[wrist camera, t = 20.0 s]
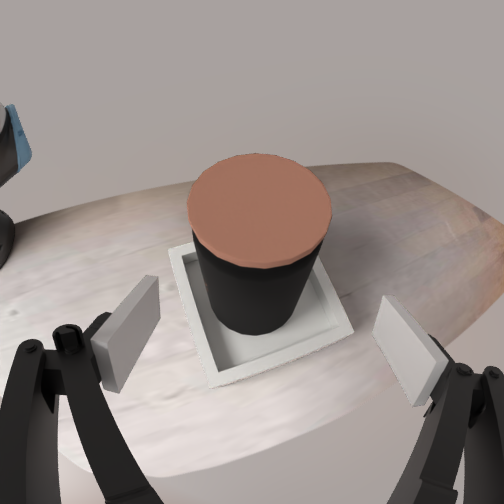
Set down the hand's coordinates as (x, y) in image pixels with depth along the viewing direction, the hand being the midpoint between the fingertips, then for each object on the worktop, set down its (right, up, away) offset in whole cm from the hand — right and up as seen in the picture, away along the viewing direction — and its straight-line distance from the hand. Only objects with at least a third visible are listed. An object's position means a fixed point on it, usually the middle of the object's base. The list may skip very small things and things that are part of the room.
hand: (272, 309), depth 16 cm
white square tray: (-1, -4, +24) cm, 24 cm away
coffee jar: (-1, -3, +20) cm, 20 cm away
